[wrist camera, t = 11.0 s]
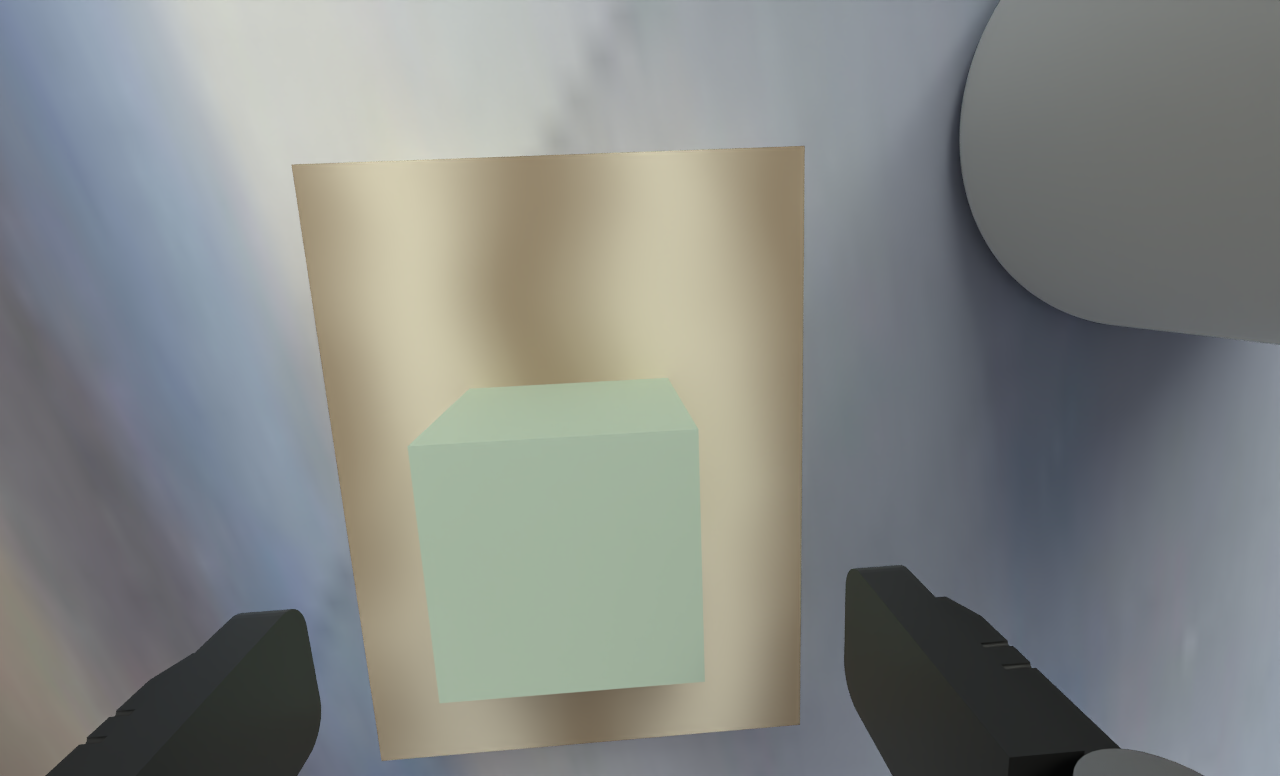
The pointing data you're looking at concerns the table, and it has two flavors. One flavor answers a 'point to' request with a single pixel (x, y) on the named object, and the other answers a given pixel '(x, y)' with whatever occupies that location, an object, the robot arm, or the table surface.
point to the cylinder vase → (1132, 159)
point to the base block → (569, 353)
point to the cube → (561, 539)
